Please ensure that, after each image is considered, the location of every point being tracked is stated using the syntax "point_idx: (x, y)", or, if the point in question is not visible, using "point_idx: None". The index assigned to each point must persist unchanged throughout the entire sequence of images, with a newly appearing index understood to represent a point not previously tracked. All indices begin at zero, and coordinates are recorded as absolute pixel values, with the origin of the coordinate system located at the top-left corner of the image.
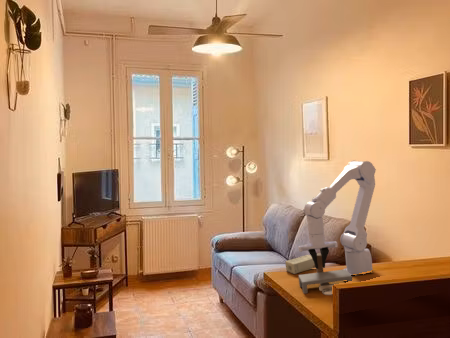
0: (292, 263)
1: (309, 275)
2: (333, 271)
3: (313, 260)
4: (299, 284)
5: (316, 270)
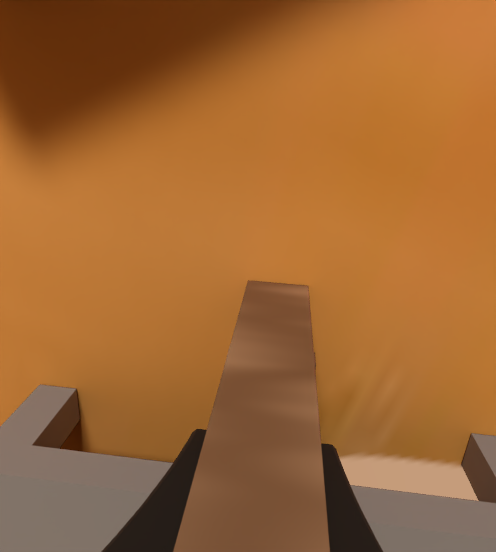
0: None
1: (89, 531)
2: (401, 549)
3: (138, 527)
4: (31, 401)
5: (235, 328)
